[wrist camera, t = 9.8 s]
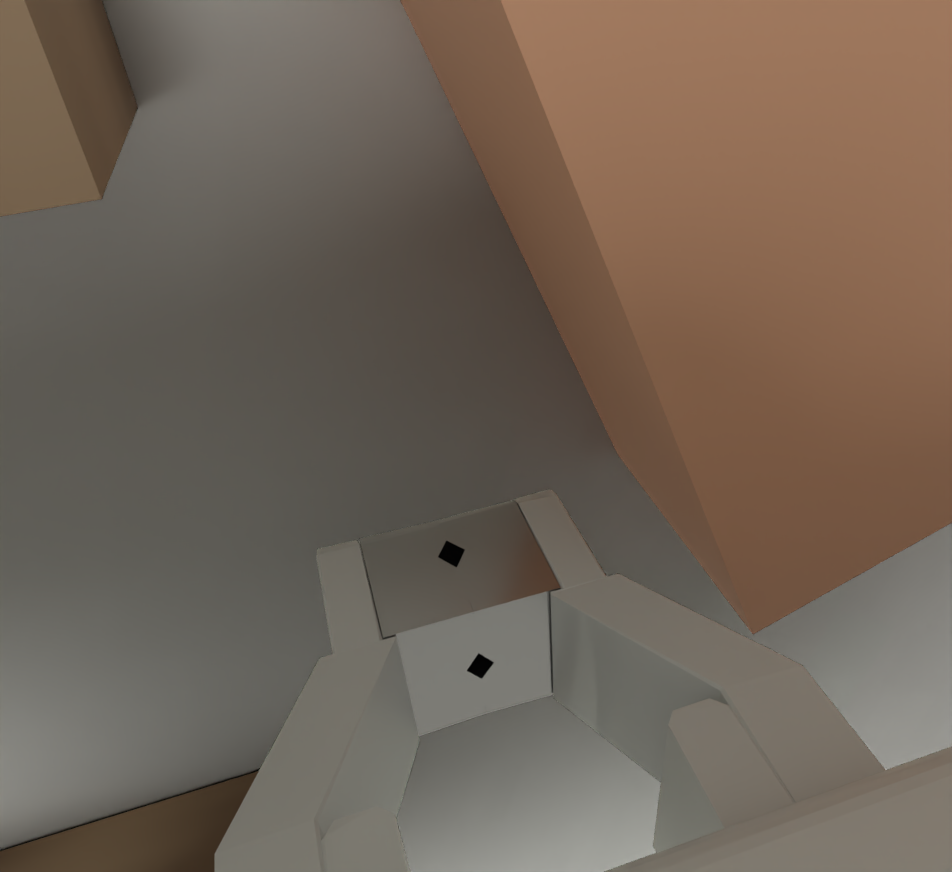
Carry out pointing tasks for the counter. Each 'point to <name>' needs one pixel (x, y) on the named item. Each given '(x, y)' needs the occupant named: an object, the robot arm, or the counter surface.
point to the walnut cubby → (58, 184)
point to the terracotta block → (736, 256)
